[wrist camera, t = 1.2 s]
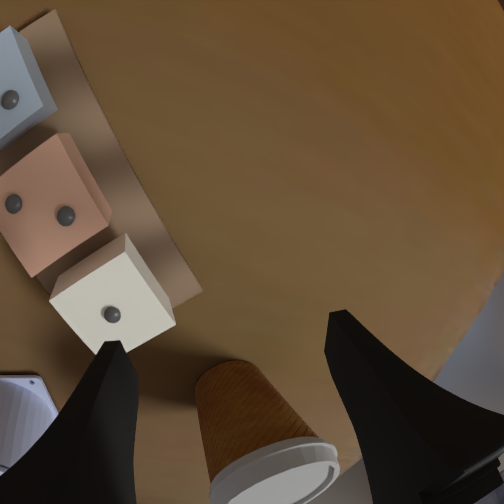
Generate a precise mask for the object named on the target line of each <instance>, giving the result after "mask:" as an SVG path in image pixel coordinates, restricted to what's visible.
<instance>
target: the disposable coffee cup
mask: <svg viewBox="0 0 504 504" xmlns="http://www.w3.org/2000/svg"><path fill="white" fill-rule="evenodd" d="M195 399H196V405H197V411H198V418H199V423H200V430H201V435H202V441H203V446H204V452H205V457H206V462H207V468H208V473H209V478H210V482H211V486H210V492H209V500H210V503H211V504H305V503H307V502H309V501H310V500H312V499H313V498H315V497H316V496H318V495H319V494H320V493H322V492H323V491H324V490H326V489H327V488H328V487H329V486H330V485H331V484H332V483H333V482H334V480H335V479H336V478H337V476H338V474H339V471H340V467H339V464H338V461H337V450H336V448H335V447H334V446H333V445H332V444H331V443H328V442H325V441H324V440H323V439H322V438H319V437H318V436H317V435H316V434H315V433H314V432H313V431H312V429H311V428H310V427H309V426H308V425H307V424H306V423H305V422H304V421H303V420H302V418H301V417H300V416H299V415H298V414H297V413H296V412H295V411H294V410H293V408H292V407H291V406H290V405H289V404H288V403H287V402H286V401H285V399H284V398H283V397H282V396H281V394H280V393H279V392H278V391H277V390H276V389H275V388H274V387H273V385H272V384H271V383H270V382H269V381H268V379H267V378H266V377H265V376H264V375H263V373H262V372H261V371H260V370H259V368H258V367H257V366H256V365H254V364H252V363H250V362H246V361H240V360H237V361H228V362H224V363H221V364H218V365H216V366H214V367H212V368H211V369H209V370H208V371H206V372H205V373H204V374H203V375H202V376H201V377H200V379H199V380H198V382H197V384H196V386H195Z"/></svg>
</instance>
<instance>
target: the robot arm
mask: <svg viewBox="0 0 504 504" xmlns="http://www.w3.org/2000/svg"><path fill="white" fill-rule="evenodd" d="M324 352H325V356H326V359H327V363H328V366H329V369H330V373H331V376H332V378H333V381H334V383H335V385H336V388H337V390H338V392H339V395H340V397H341V399H342V401H343V404H344V406H345V408H346V411H347V413H348V415H349V418H350V420H351V422H352V425H353V427H354V430H355V433H356V436H357V439H358V442H359V446H360V449H361V453H362V456H363V460H364V464H365V468H366V472H367V476H368V480H369V485H370V490H371V494H372V500H373V504H504V470H503V471H501V472H500V473H499V471H498V469H497V467H499V466H500V461H499V459H498V457H499V456H500V455H502V454H503V453H504V415H502V414H499V413H496V412H493V411H490V410H487V409H484V408H482V407H479V406H477V405H475V404H472V403H470V402H468V401H466V400H464V399H462V398H460V397H458V396H456V395H454V394H452V393H451V392H449V391H447V390H445V389H443V388H441V387H439V386H438V385H436V384H435V383H433V382H432V381H430V380H429V379H427V378H426V377H424V376H423V375H421V374H420V373H418V372H417V371H416V370H414V369H413V368H412V367H410V366H409V365H408V364H406V363H405V362H404V361H403V360H401V359H400V358H399V357H398V356H396V355H395V354H394V353H393V352H392V351H391V350H389V349H388V348H387V347H386V346H385V345H384V344H383V343H381V342H380V341H379V340H378V339H377V338H376V337H375V336H374V335H373V334H372V333H370V332H369V331H368V330H367V329H366V328H365V327H364V326H363V325H362V324H361V323H360V322H359V321H358V320H357V319H356V318H355V317H354V316H353V315H352V314H351V313H349V312H348V311H347V310H346V309H345V310H340V311H335V312H330V313H329V320H328V328H327V335H326V342H325V349H324ZM30 380H32V381H30ZM33 381H34V382H33ZM137 411H138V375H137V373H136V371H135V369H134V367H133V365H132V363H131V361H130V359H129V357H128V355H127V353H126V351H125V349H124V347H123V345H122V343H121V341H120V340H115V341H104V343H103V344H102V346H101V348H100V349H99V351H98V352H97V354H96V356H95V357H94V359H93V361H92V362H91V364H90V366H89V367H88V369H87V371H86V372H85V374H84V375H83V377H82V379H81V380H80V382H79V384H78V385H77V387H76V388H75V390H74V392H73V393H72V395H71V396H70V398H69V399H68V401H67V402H66V404H65V405H64V407H63V408H62V410H61V411H60V412H59V413H58V411H57V409H56V407H55V405H54V403H53V401H52V399H51V397H50V395H49V393H48V391H47V388H46V386H45V384H44V382H43V380H42V378H41V377H40V376H38V375H0V504H136V495H135V485H134V469H133V455H134V442H135V431H136V421H137Z"/></svg>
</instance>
